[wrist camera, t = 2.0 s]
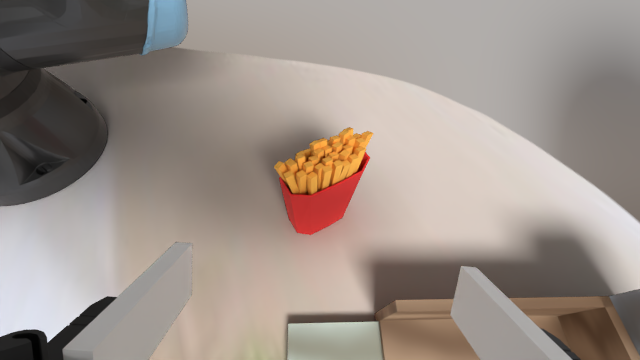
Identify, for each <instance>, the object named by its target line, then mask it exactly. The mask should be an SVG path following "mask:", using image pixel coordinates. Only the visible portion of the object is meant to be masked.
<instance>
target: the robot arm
mask: <svg viewBox="0 0 640 360" xmlns="http://www.w3.org/2000/svg"><path fill="white" fill-rule="evenodd" d="M187 32H188V14H187V5H186V0H0V206H11V205H18V204H24V203H28V202H32V201H35V200H38V199H41V198H44V197H46V196H49V195H51V194H53V193H56V192H58V191H60V190H62V189H63V188H65V187H67V186H68V185H70V184H72V183H73V182H74V181H76V180H77V179H79V178H80V177H81V176H82V175H84V174H85V173H86V172H87V171H88V170H89V169H90V168H91V167H92V166H93V165H94V163H95V162H96V161H97V160H98V158H99V157H100V155H101V153H102V151H103V149H104V147H105V144H106V141H107V126H106V123H105V121H104V119H103V117H102V116H101V115H100V113H99V112H98V110H97V109H96V108H95V106H94V105H93V104H92V103H91V102H90V101H89V100H88V99H87V98H86V97H84V96H83V95H81V94H80V93H78V92H76V91H74V90H73V89H72V88H71V87H69V86H68V85H67V84H65V83H64V82H62V81H61V80H60V79H58V78H57V77H55V76H54V75H52V74H51V73H49V72H48V71H46V70H45V69H43V68H46V67H52V66H59V65H66V64H73V63H80V62H86V61H93V60H100V59H107V58H114V57H120V56H127V55H134V54H139V55H145V54H148V53H149V51H154V50H159V49H164V48H169V47H174V46H177V45H179V44H180V43H181V42H182V41H183V40H184V39H185V37H186V35H187ZM191 295H192V243H181V242H175V243H174V244H173V245H172V246H171V247H170V248H169V249H168V250H167V251H166V252H165V253H164V254H163V255H162V256H161V257H160V258H158V259H157V260H156V261H155V262H154V263H153V264H152V265H151V266H150V267H149V268H148V269H147V270H146V271H145V272H144V273H143V274H142V275H140V276H139V277H138V278H137V279H136V280H135V281H134V282H133V283H132V284H131V285H130V286H129V287H128V288H127V289H126V290H125V291H124V292H122V293H121V294H120V295H119V296H118V297H108V296H107V297H105V298H103V299H101V300H100V301H98V302H96V303H94V304H92V305H91V306H89V307H88V308H87V309H86V310H85V311H84V312H83V313H81V314H80V316H79V317H77V318H76V319H74V320H73V321H72V322H71V323H70V325H69V326H66V327H65V328H64V329H63V330H62V331H61V332H59V333H58V334H57V335H56V336H55V337H54V338H53V339H51V340H50V341H49V342H48V343H47V337H46V335H45V333H44V332H42V331H39V330H22V331H18V332H13V333H10V334H7V335H5V336H2V337H0V360H149V358H150V357H151V355H152V354H153V352H154V351H155V349H156V348H157V346H158V345H159V343H160V342H161V340H162V339H163V337H164V336H165V334H166V333H167V331H168V330H169V328H170V327H171V325H172V324H173V322H174V321H175V319H176V318H177V316H178V315H179V313H180V312H181V310H182V309H183V307H184V306H185V304H186V303H187V301H188V300H189V298H190V297H191ZM450 315H451V317H452V318H453V320H454V321H455V323H456V324H457V326H458V327H459V329H460V330H461V332H462V333H463V335H464V336H465V338H466V339H467V341H468V342H469V343H470V345H471V346H472V348H473V349H474V351H475V352H476V354H477V355H478V357H479V358H480V360H581V359H580V358H579V357H578V356H577V355H576V354H575V353H574V352H571V350H570V349H569V348H568V347H567V346H566V345H565V344H564V343H563V342H562V341H561V340H560V339H558V338H557V337H555V336H554V335H552V334H551V333H549V332H548V331H546V330H545V329H540V328H539V327H538V326H537V325H536V324H535V323H534V322H533V321H532V320H531V319H530V318H529V317H527V316H526V315H525V314H524V313H523V312H522V311H521V310H520V309H519V308H518V307H517V306H516V305H515V304H514V303H513V302H512V301H511V300H510V299H509V298H508V297H507V296H506V295H505V294H503V293H502V292H501V291H500V290H499V289H498V288H497V287H496V286H495V285H494V284H493V283H492V282H491V281H490V280H489V279H488V278H487V277H486V276H485V275H484V274H483V273H482V272H481V271H479V270H478V269H477V268H476V267H466V266H461V269H460V273H459V278H458V282H457V287H456V291H455V296H454V300H453V305H452V309H451V314H450Z"/></svg>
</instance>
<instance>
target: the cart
mask: <svg viewBox="0 0 640 360" xmlns="http://www.w3.org/2000/svg"><path fill="white" fill-rule="evenodd" d="M509 299H510V300H511V301H512V302H513V303H514V304H515V305H516V306H517V307H518V308H519V309H520V310H521V311H522V312H523V313H524V314H525V315H526V316H527V317H529V318H530V319H531V320H532V321H533V322H534V323H535V324H536V325H537V326H538V327H539V328H540V329H545V330H546V331H548V332H549V333H551V334H552V335H554V336H555V337H557V338H558V339H560V340H561V341H562V342H563V343H564V344H565V345H566V346H567V347H568V348H569V349H570V350H571V352H574V353H575V354H576V355H577V356H578V357H579V358H580V359H581V360H640V289H638V290H634V291H629V292H625V293H621V294H616V295H612V296H592V297H536V298H509ZM453 300H454V299H425V300H395V301H393V302H392V303H390V304H389V305H387V306H386V307H384V308H382V309H381V310H379V311H378V312H376V313H375V320H376V322H338V323H297V324H288V358H287V360H480V358H479V357H478V355H477V354H476V352H475V351H474V349H473V348H472V346H471V345H470V343H469V342H468V341H467V339H466V338H465V336H464V335H463V333H462V332H461V330H460V329H459V327H458V326H457V324H456V323H455V321H454V320H453V318H452V317H451V315H450V314H451V309H452V305H453Z"/></svg>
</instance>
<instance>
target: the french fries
mask: <svg viewBox="0 0 640 360" xmlns="http://www.w3.org/2000/svg"><path fill="white" fill-rule="evenodd" d="M372 135H373V133H372V132H369V131H367V132H364V133H362V135H360V134H357V133H356V134H354V135H353V128H350V127H349V128H347V129H344V130H343V131H342V132H341V133H339V137H338V136H337V135H336V136H333V137H330V140H328V141H327V139H325V138H322V139H319V140H317V141H316V140H315V141H313V142H312V143H310V149H306V150H303V151H300V152H298V153H297V154H296V157H295V160H292V159H291V158H290V159H288V160H287V161H286V162H284V163H285V165H284V163H283V162H280V161H279V162H278V163H277V164H276V165H275V166H274V168H275V169H276V171H277V172H278V174H279V175H280V177H279V180H280V184H281V188H282V192H283V196H284V201H285V205H286V209H287V213H288V217H289V220H290V221H291V223H292V225H293V226H294V228H295V230H296V231H297V233H302V234H309V235H311V234H313V233H315V232H318V231H320V230H321V229H323V228H325V227H327V226H329V225H331V224H333V223H334V222H336V221H338V220H339V219H341V218H342V217H343V215H344V213H345V211H346V208H347V206H348V204H349V202H350V200H351V197H352V195H353V193H354V191H355V189H356V186H357V184H358V182H359V180H360V178H361V175H362V173H363V171H364V169H365V167H366V165H367V163H368V161H369V159H370V157H369V156H368V155H367V153H366V152H365V151H366V149H365V148H366V146H367V144H368V143H369V141H370V139H371V137H372Z"/></svg>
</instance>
